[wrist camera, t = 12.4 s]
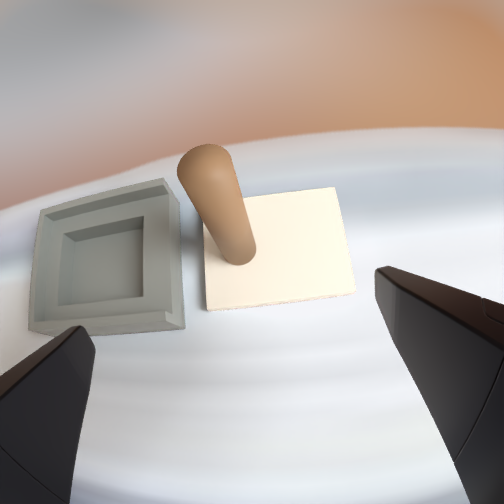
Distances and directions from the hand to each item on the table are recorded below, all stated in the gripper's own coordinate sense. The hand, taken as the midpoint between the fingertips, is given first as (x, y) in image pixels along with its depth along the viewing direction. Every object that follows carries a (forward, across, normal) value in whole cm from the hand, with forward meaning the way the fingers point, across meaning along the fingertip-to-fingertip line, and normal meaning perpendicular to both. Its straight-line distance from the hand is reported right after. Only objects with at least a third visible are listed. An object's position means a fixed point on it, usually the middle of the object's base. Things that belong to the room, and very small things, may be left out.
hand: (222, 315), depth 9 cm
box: (+14, +10, +4) cm, 18 cm away
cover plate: (+14, -2, +5) cm, 15 cm away
